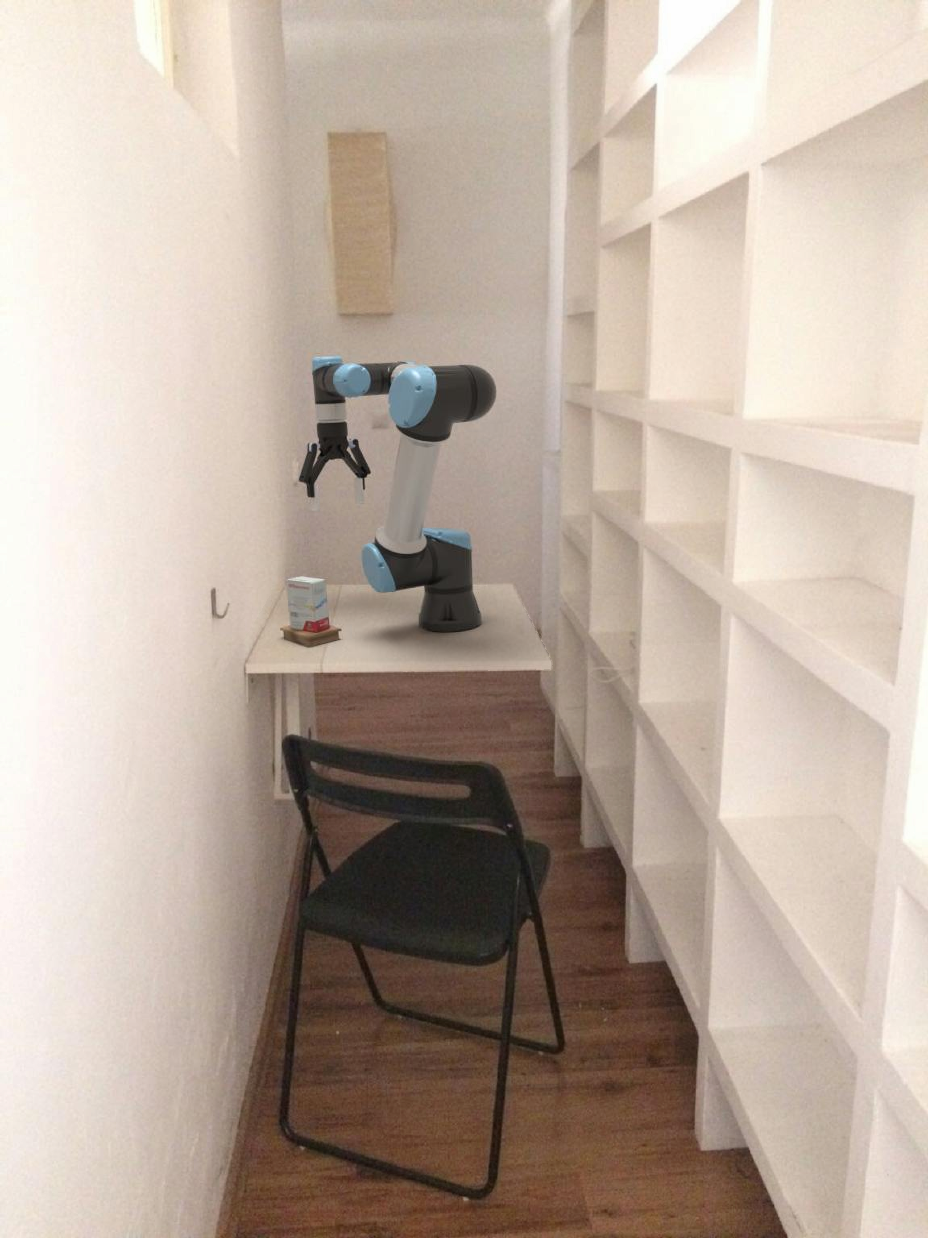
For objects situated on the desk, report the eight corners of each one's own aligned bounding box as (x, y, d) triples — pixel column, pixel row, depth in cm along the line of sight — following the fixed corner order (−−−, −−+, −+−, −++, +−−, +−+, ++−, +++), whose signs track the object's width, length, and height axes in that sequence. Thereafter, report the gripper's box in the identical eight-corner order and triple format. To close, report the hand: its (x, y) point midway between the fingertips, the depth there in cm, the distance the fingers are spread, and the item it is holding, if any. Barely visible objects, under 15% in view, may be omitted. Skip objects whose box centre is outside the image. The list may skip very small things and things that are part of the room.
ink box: (330, 628, 224) (327, 578, 221) (316, 633, 220) (311, 582, 217) (304, 623, 229) (300, 574, 226) (289, 628, 225) (285, 579, 222)
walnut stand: (342, 639, 224) (341, 628, 223) (309, 647, 218) (308, 637, 218) (313, 630, 233) (312, 620, 232) (280, 638, 227) (279, 627, 226)
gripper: (363, 417, 250) (368, 499, 255) (279, 424, 234) (287, 511, 239) (381, 417, 244) (386, 501, 250) (297, 425, 228) (304, 514, 234)
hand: (337, 506), depth 244 cm, fingers open, 13 cm apart
